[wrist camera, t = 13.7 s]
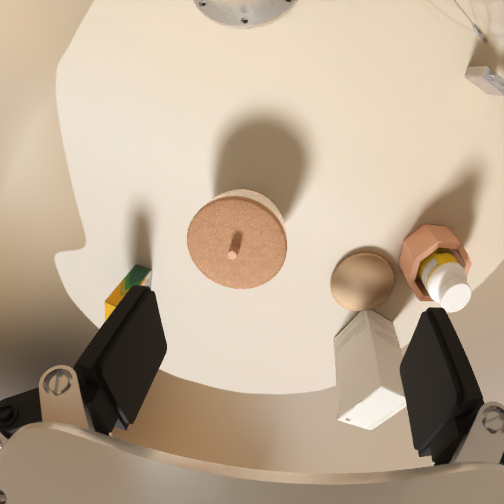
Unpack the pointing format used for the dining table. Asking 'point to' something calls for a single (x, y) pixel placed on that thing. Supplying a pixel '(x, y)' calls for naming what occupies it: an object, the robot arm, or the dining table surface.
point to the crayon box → (127, 287)
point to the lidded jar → (238, 239)
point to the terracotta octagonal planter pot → (424, 245)
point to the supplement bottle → (445, 279)
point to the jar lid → (362, 281)
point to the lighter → (486, 80)
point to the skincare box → (368, 371)
